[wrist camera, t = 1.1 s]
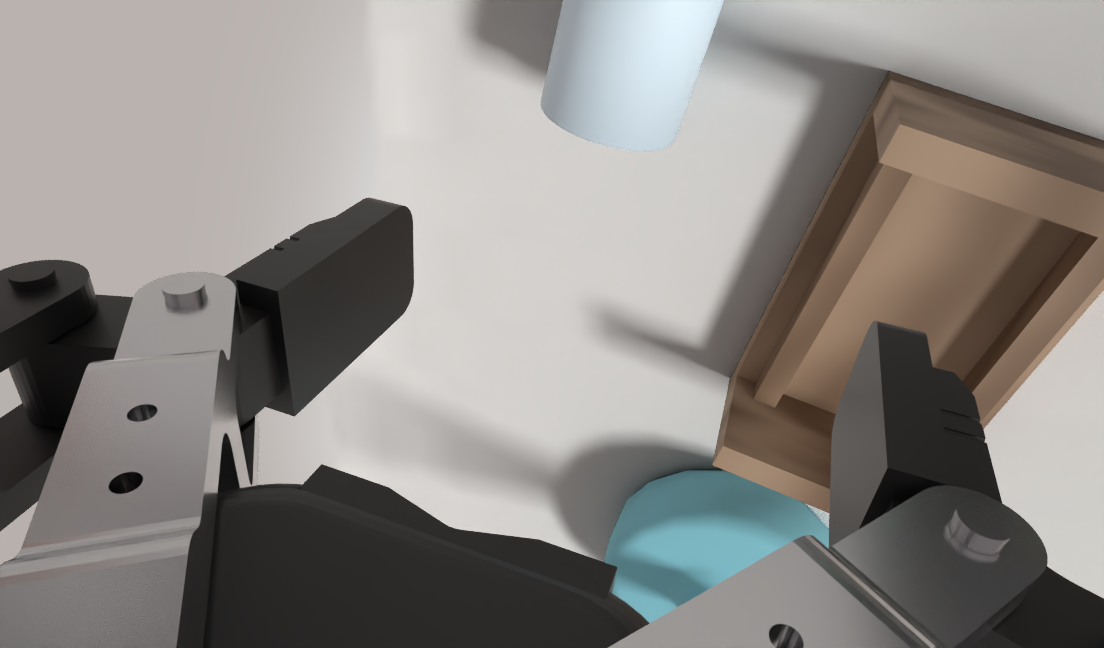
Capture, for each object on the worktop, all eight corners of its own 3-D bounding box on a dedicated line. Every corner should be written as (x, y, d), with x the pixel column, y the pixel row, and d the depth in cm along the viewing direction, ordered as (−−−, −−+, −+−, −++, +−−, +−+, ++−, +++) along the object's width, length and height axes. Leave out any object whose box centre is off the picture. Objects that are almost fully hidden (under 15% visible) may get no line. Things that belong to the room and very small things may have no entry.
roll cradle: (729, 378, 34) (712, 465, 29) (888, 70, 25) (899, 124, 20) (937, 460, 33) (954, 564, 28) (1183, 167, 24) (1269, 247, 19)
